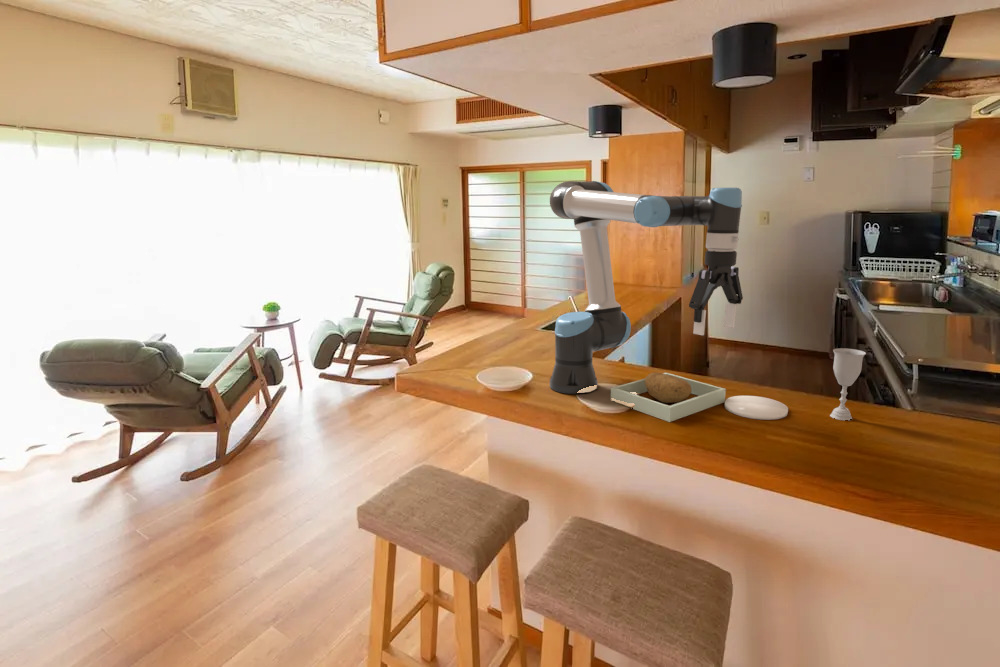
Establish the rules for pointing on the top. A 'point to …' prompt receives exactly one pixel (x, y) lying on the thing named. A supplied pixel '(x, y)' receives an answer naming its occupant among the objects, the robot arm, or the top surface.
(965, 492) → the top surface
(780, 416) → the plate
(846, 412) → the chalice
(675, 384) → the potato
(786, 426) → the top surface
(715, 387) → the crate
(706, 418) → the top surface
